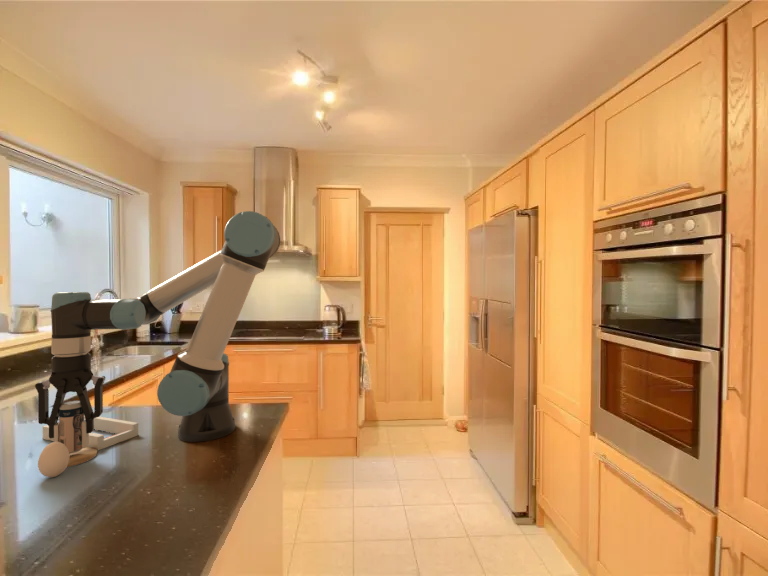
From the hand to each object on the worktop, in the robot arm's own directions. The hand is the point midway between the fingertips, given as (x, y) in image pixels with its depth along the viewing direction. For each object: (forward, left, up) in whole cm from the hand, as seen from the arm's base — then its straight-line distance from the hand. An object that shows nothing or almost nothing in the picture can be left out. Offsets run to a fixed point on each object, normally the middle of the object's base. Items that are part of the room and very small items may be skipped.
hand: (71, 448), depth 93 cm
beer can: (0, 0, -1) cm, 1 cm away
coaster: (0, 0, -3) cm, 3 cm away
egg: (-6, +7, -3) cm, 10 cm away
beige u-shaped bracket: (+11, -11, -3) cm, 15 cm away
